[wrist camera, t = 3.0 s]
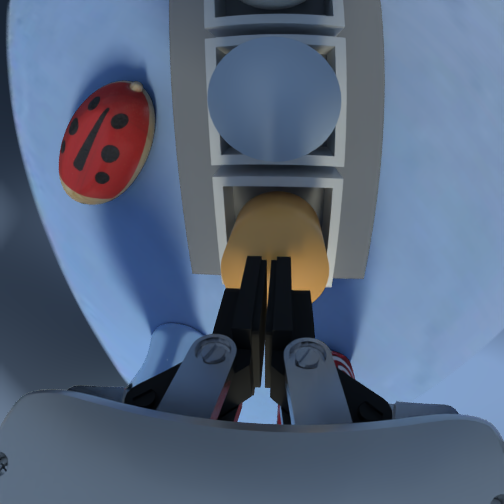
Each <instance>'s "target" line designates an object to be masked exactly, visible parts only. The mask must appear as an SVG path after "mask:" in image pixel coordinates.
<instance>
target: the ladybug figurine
mask: <svg viewBox="0 0 504 504" xmlns="http://www.w3.org/2000/svg"><path fill="white" fill-rule="evenodd" d="M154 131H155V112H154V107H153V103H152V100H151V98H150V96H149V94H148V93H147V92H146V91H145V90H144V89H143V85H142V84H141V83H140V82H137V81H134V82H131V81H117V82H113V83H110V84H107V85H105V86H103V87H101V88H100V89H98V90H97V91H95V92H94V93H93V94H92V95H90V96H89V97H88V98H87V99H86V100H85V101H84V102H83V103H82V104H81V106H80V107H79V108H78V110H77V111H76V112H75V114H74V115H73V117H72V119H71V120H70V122H69V124H68V127H67V129H66V132H65V134H64V137H63V140H62V144H61V149H60V156H59V176H60V180H61V184H62V186H63V188H64V190H65V192H66V193H67V194H68V195H69V196H70V197H71V198H72V199H74V200H75V201H77V202H79V203H83V204H90V205H94V204H102V203H106V202H108V201H111V200H113V199H115V198H116V197H118V196H119V195H121V194H122V193H123V192H124V191H125V190H126V189H127V188H128V187H129V186H130V185H131V184H132V183H133V181H134V180H135V179H136V177H137V176H138V174H139V173H140V171H141V169H142V167H143V166H144V164H145V162H146V159H147V157H148V154H149V152H150V149H151V146H152V142H153V137H154Z"/></svg>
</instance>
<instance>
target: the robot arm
mask: <svg viewBox="0 0 504 504" xmlns="http://www.w3.org/2000/svg"><path fill="white" fill-rule="evenodd" d="M264 346H265V388H270V398H272V399H273V400H274V401H275V402H276V403H277V404H278V405H280V417H281V425H278V424H257V423H243V422H237V421H238V418H239V415H240V412H241V409H242V402H244V401H245V400H247V399H248V398H250V397H251V396H252V395H254V390H255V387H260V386H261V377H262V367H263V357H264ZM0 504H504V441H503V439H502V437H501V435H500V433H499V432H498V430H497V429H496V428H495V427H494V426H493V425H492V424H491V423H490V422H488V421H486V420H484V419H481V418H478V417H474V416H469V415H461V414H458V412H457V411H456V409H454V408H453V407H451V406H448V405H440V404H422V403H408V402H396V403H395V404H388V402H387V401H385V400H384V399H383V398H382V397H380V396H379V395H377V394H376V393H374V392H373V391H371V390H370V389H368V388H367V387H365V386H364V385H362V384H361V383H359V382H358V381H356V380H355V379H353V378H352V377H350V376H349V375H347V374H346V373H345V372H343V371H342V370H340V369H339V368H337V367H336V366H335V363H334V360H333V356H332V353H331V351H330V349H329V347H328V346H327V345H326V344H325V343H324V342H322V341H320V340H318V339H315V334H314V322H313V311H312V301H311V292H310V290H292V277H291V257H282V256H277V260H271V269H270V281H269V293H268V304H267V260H262V256H247V259H246V264H245V268H244V273H243V277H242V282H241V286H240V288H226V289H225V291H224V295H223V298H222V302H221V305H220V309H219V312H218V316H217V319H216V323H215V326H214V330H213V334H209V335H205V336H202V337H200V338H198V339H197V340H196V341H195V342H194V343H193V344H192V345H191V347H190V349H189V351H188V353H187V354H186V356H185V358H184V360H183V362H181V363H179V364H177V365H175V366H173V367H171V368H169V369H167V370H166V371H164V372H162V373H160V374H158V375H156V376H154V377H152V378H150V379H148V380H146V381H143V382H141V383H139V384H137V385H136V386H134V387H133V388H131V389H130V390H126V389H125V387H108V386H84V385H78V386H73V387H71V388H69V389H68V390H58V389H47V390H38V391H33V392H29V393H27V394H25V395H24V396H22V397H21V398H20V399H19V400H18V401H17V402H16V403H15V404H14V405H13V407H12V408H11V410H10V411H9V412H8V414H7V415H6V417H5V419H4V420H3V422H2V424H1V426H0Z"/></svg>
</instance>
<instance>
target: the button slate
mask: <svg viewBox="0 0 504 504" xmlns="http://www.w3.org/2000/svg"><path fill="white" fill-rule="evenodd" d="M207 102H208V109H209V113H210V117H211V119H212V122H213V124H214V126H215V128H216V129H217V131H218V133H219V134H220V135H221V136H222V138H223V139H224V140H225V141H226V142H227V143H228V144H229V145H230V146H232V147H233V148H234V149H236V150H237V151H239V152H241V153H242V154H244V155H247V156H249V157H252V158H255V159H258V160H263V161H271V162H281V161H289V160H293V159H297V158H300V157H302V156H305V155H307V154H309V153H310V152H312V151H314V150H315V149H317V148H318V147H319V146H320V145H322V144H323V143H324V142H325V140H326V139H327V138H328V137H329V136H330V134H331V133H332V131H333V130H334V128H335V126H336V124H337V121H338V118H339V115H340V110H341V90H340V86H339V82H338V79H337V77H336V75H335V73H334V71H333V69H332V67H331V66H330V65H329V63H328V62H327V61H326V60H325V59H324V57H323V56H322V55H320V54H319V53H318V52H317V51H316V50H314V49H313V48H311V47H310V46H308V45H306V44H304V43H302V42H300V41H297V40H294V39H290V38H285V37H275V36H270V37H261V38H256V39H253V40H250V41H247V42H245V43H242V44H240V45H238V46H237V47H235V48H234V49H232V50H231V51H230V52H229V53H228V54H226V55H225V56H224V57H223V59H222V60H221V61H220V62H219V64H218V65H217V67H216V68H215V70H214V72H213V74H212V76H211V79H210V83H209V87H208V96H207Z"/></svg>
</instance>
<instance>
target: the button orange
mask: <svg viewBox="0 0 504 504" xmlns="http://www.w3.org/2000/svg"><path fill="white" fill-rule="evenodd" d="M247 256H262V260H267V304H268V293H269V281H270V269H271V260H277V256H282V257H291V277H292V290H310V292H311V301H312V303H313V302H314V301H315V300H316V299H317V298H318V297H319V296H320V295H321V293H322V292H323V290H324V289H325V287H326V284H327V282H328V278H329V262H328V257H327V253H326V248H325V244H324V239H323V235H322V231H321V227H320V222H319V219H318V216H317V214H316V212H315V211H314V209H313V208H312V207H311V206H310V204H309V203H307V202H306V201H305V200H304V199H302V198H301V197H299V196H297V195H295V194H292V193H288V192H283V191H271V192H266V193H262V194H260V195H258V196H255V197H254V198H252V199H251V200H249V201H248V202H247V203H246V204H245V205H244V206H243V208H242V209H241V210H240V212H239V214H238V216H237V219H236V222H235V224H234V227H233V229H232V232H231V235H230V237H229V240H228V243H227V245H226V248H225V251H224V253H223V256H222V260H221V275H222V279H223V282H224V285H225V287H226V288H240V286H241V282H242V277H243V273H244V268H245V264H246V259H247Z"/></svg>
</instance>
